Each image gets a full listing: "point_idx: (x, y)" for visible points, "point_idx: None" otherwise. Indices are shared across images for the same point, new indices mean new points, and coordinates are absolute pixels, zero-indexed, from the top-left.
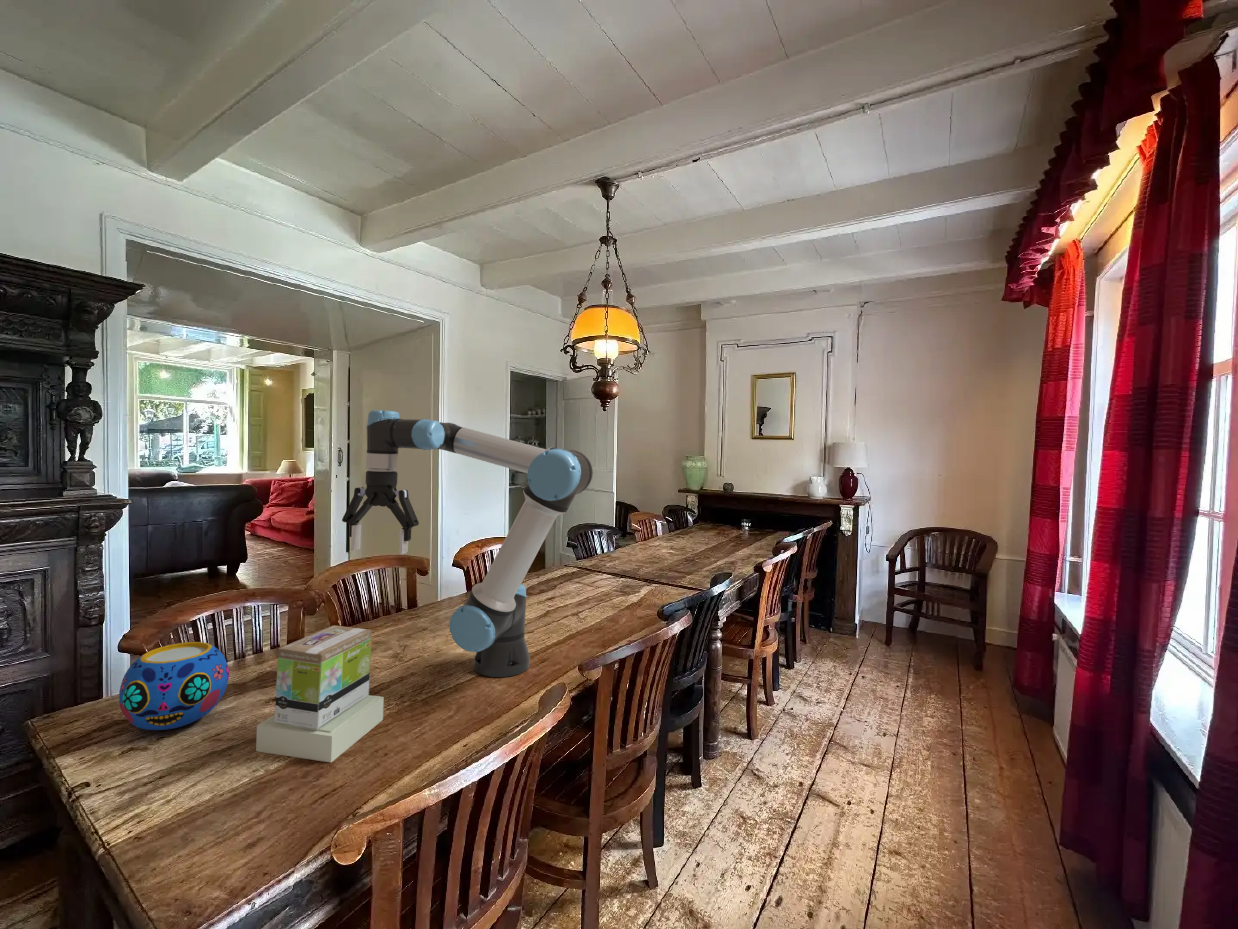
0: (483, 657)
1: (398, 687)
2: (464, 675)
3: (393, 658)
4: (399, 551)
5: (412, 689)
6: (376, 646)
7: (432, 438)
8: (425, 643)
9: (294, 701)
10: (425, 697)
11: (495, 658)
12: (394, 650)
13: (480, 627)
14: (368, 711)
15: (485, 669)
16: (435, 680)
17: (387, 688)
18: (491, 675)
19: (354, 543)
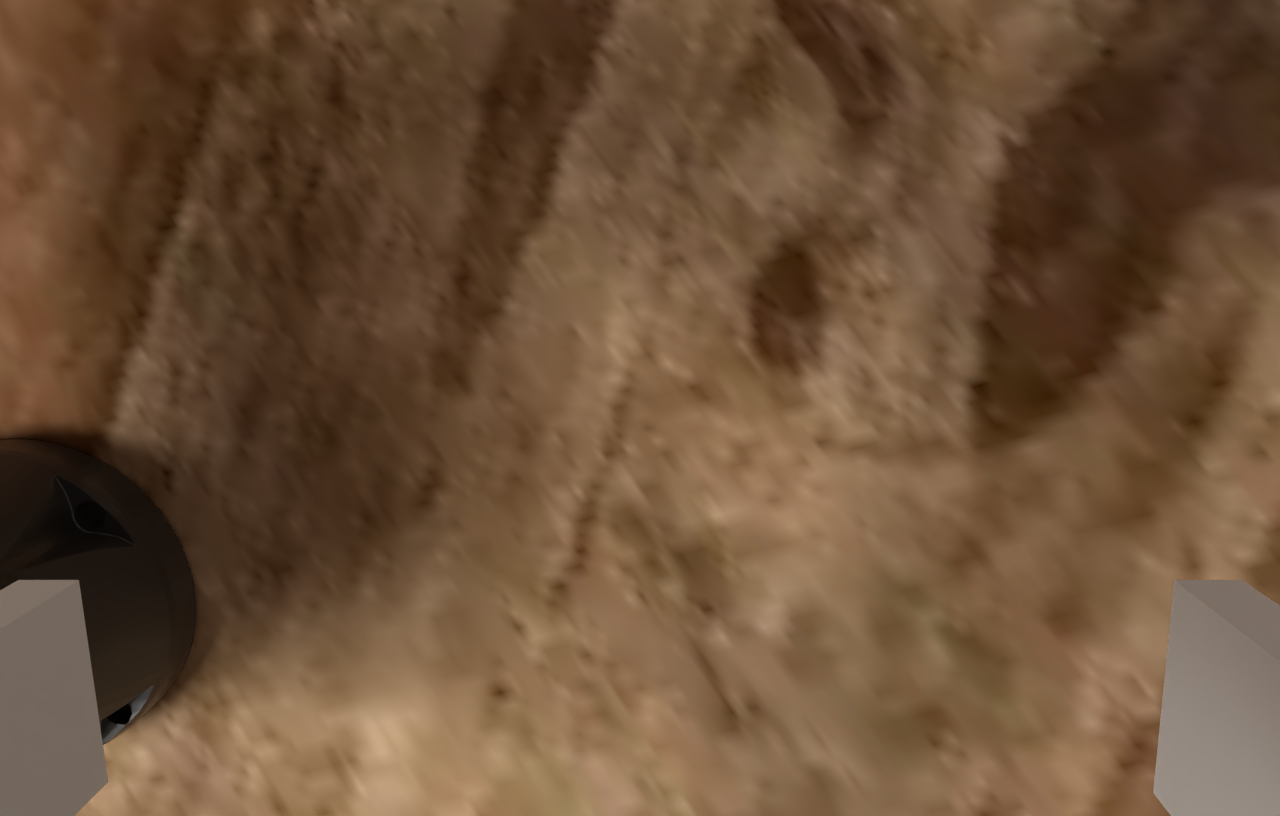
0: (16, 493)
1: (421, 190)
2: (169, 427)
3: (687, 534)
4: (34, 606)
5: (333, 188)
6: (897, 669)
7: None
8: (636, 780)
9: None
10: (209, 119)
11: None
12: (753, 641)
13: None
14: None
15: (27, 452)
16: (282, 326)
17: (471, 162)
18: (8, 442)
19: (1264, 675)
